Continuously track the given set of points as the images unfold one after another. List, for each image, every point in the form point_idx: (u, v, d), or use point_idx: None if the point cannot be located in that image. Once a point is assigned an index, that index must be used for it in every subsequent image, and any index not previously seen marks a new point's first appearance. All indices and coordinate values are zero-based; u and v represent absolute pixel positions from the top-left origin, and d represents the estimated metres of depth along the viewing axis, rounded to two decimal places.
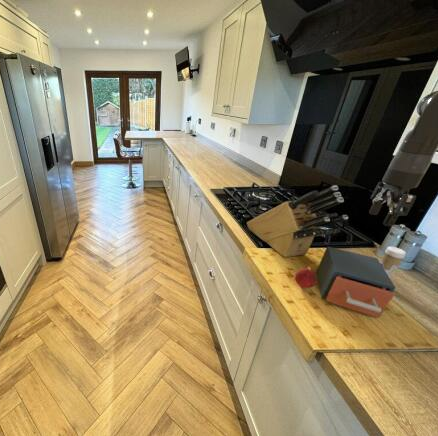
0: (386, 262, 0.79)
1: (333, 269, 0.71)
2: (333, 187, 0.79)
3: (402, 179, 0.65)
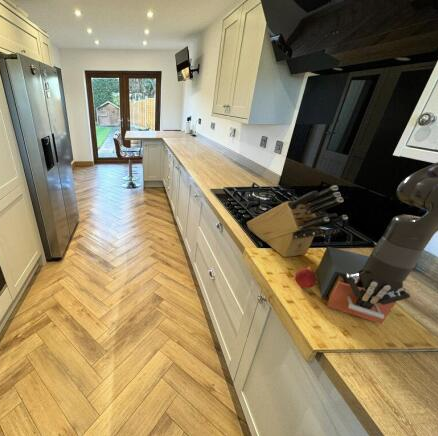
0: None
1: (333, 269, 0.71)
2: (333, 187, 0.79)
3: (408, 274, 0.55)
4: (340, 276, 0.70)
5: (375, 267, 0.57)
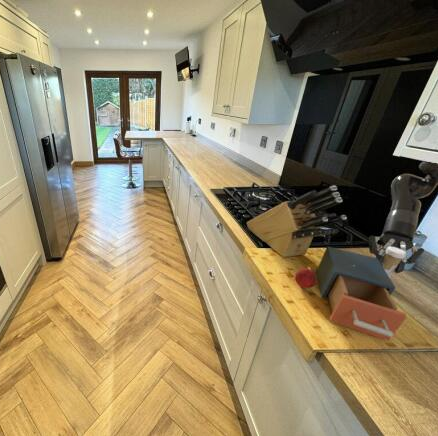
0: (386, 262, 0.79)
1: (333, 269, 0.71)
2: (332, 187, 0.79)
3: (414, 232, 0.79)
4: (344, 288, 0.65)
5: (390, 226, 0.81)
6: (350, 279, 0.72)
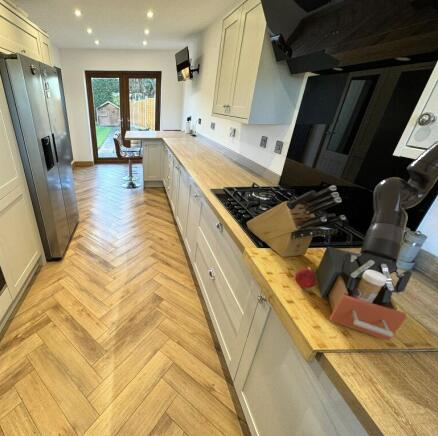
0: (363, 289, 0.63)
1: (333, 269, 0.71)
2: (331, 187, 0.79)
3: (398, 253, 0.63)
4: (344, 288, 0.65)
5: (369, 244, 0.66)
6: None
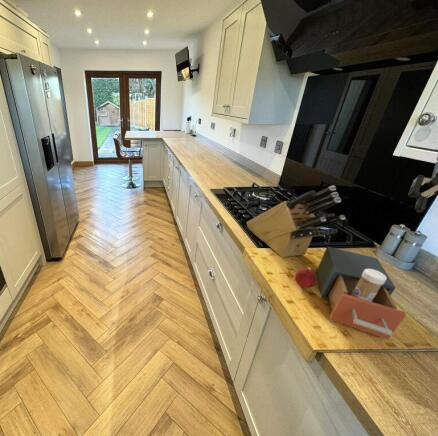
0: (362, 288, 0.63)
1: (333, 269, 0.71)
2: (331, 187, 0.79)
3: None
4: (344, 287, 0.65)
5: None
6: (350, 278, 0.72)
